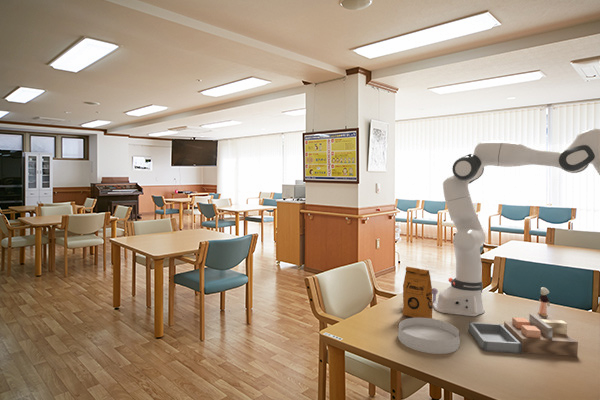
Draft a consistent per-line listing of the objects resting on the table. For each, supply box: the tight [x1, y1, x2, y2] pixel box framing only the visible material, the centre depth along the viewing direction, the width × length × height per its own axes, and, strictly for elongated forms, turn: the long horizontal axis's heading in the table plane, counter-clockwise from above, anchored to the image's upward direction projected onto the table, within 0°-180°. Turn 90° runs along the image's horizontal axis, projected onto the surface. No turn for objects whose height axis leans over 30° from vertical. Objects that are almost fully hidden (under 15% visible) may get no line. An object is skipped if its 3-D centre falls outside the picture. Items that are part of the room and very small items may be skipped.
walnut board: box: [503, 321, 579, 357], centre depth 138 cm, size 18×16×5 cm
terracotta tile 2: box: [511, 316, 530, 328], centre depth 142 cm, size 4×4×2 cm
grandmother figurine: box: [537, 286, 551, 317], centre depth 168 cm, size 8×4×13 cm, turn 5°
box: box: [468, 321, 522, 354], centre depth 140 cm, size 12×18×4 cm
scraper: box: [528, 313, 568, 339], centre depth 137 cm, size 9×14×4 cm, turn 171°
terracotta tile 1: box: [521, 325, 541, 338], centre depth 134 cm, size 4×4×2 cm
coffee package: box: [402, 266, 434, 319], centre depth 164 cm, size 10×12×22 cm
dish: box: [397, 317, 461, 355], centre depth 141 cm, size 22×22×5 cm
